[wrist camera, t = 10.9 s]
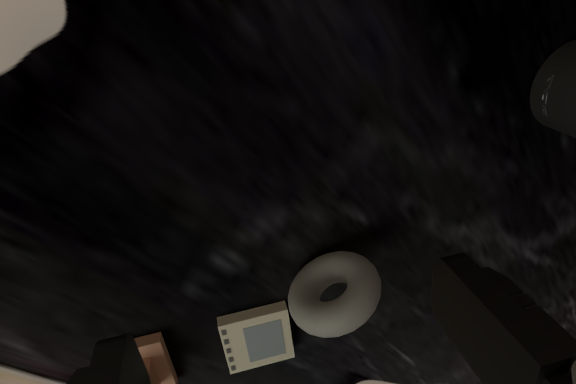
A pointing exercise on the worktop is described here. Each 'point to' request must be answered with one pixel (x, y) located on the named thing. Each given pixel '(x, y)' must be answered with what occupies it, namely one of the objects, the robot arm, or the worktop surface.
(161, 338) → the stub
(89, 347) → the worktop surface
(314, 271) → the donut
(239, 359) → the control panel
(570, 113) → the robot arm
